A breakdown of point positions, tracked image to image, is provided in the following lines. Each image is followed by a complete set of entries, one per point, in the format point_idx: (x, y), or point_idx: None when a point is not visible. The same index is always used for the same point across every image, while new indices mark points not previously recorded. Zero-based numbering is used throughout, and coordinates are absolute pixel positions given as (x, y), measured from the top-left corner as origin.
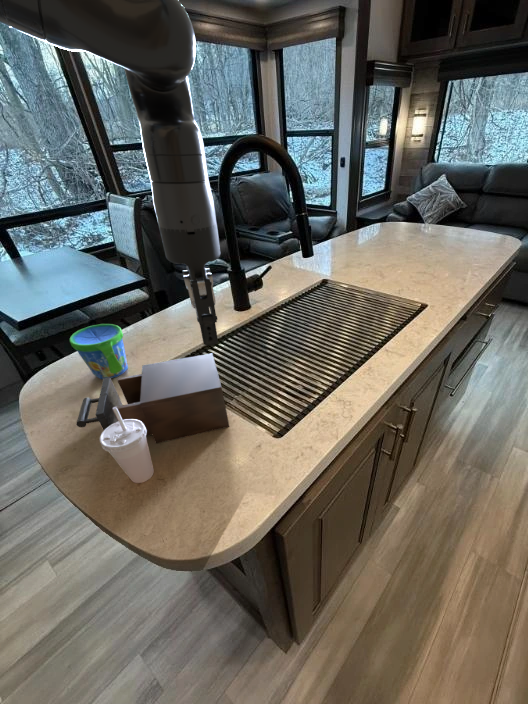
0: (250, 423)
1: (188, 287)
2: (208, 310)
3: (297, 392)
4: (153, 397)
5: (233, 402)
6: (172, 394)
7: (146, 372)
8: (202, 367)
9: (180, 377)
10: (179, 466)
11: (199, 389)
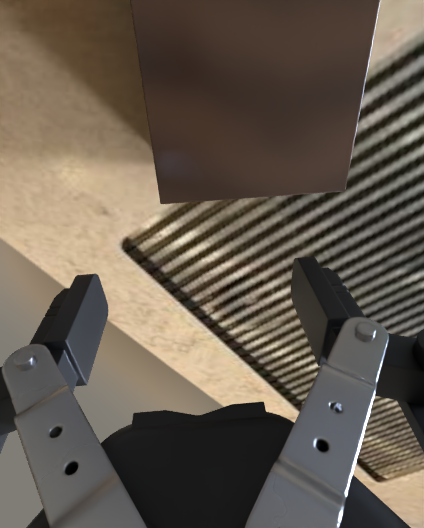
0: (170, 205)
1: (51, 522)
2: (302, 326)
3: (236, 294)
4: None
5: None
6: (151, 56)
7: None
8: (277, 158)
9: (244, 84)
10: (59, 40)
11: (162, 145)
